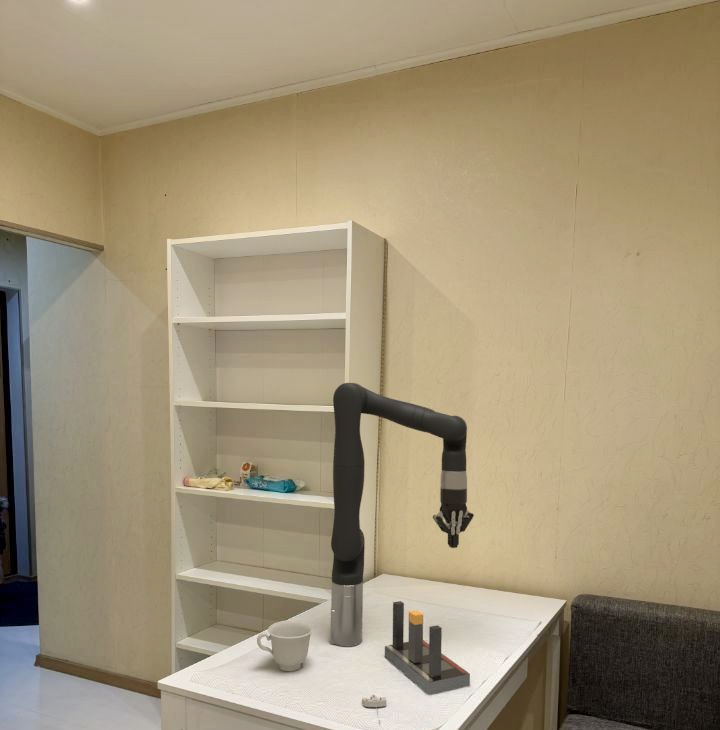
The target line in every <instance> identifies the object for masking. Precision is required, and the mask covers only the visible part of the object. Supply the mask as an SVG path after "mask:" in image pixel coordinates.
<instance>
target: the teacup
mask: <svg viewBox="0 0 720 730" xmlns="http://www.w3.org/2000/svg"><path fill="white" fill-rule="evenodd" d="M313 631H314V627H313V626H312V625H311V624H310V623H309V622H307V621H303V620H295V619H290V620H289V619H287V620H282V621H281V620H280V621H277V622H274V623H273V624H271V625H269V627H268V628H267V632H266V631H261V632H260V633H259V634H258V635H257V638H256V642H257V647H259V648H260V649H261V650H262V651H265V652H269V653H270V654H271V655H272V657H273V659H274V661H275V662H276V663H277V664H278V665H279V666H278V668H279V669H280V670H281V671H284V672H295V671H298V670H300V669H301V667H302V666H301V665H302V664H301V663H303V662H305V660H306V659H307V658H308V657H307V656H308V653H309V647H310V639H311V634H312V633H313ZM268 633H269V634H268ZM264 637H265V639H266V640H267V642H270V641H271V648H270V647H269V646H268V647H267V646H265V645H263V644H262V642H261V639H263V638H264Z"/></svg>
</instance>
